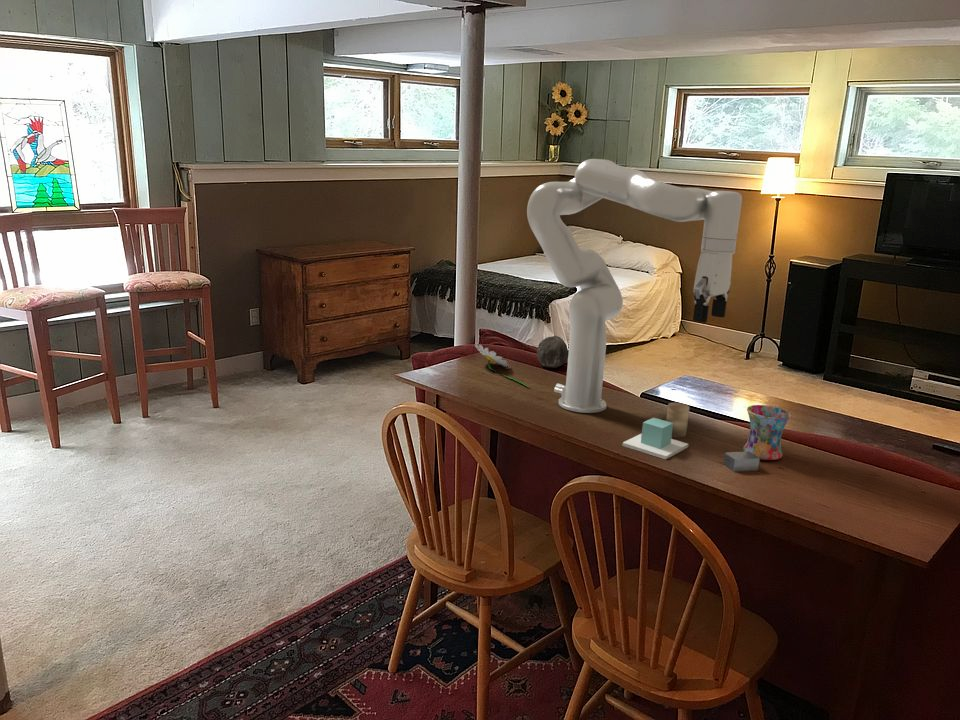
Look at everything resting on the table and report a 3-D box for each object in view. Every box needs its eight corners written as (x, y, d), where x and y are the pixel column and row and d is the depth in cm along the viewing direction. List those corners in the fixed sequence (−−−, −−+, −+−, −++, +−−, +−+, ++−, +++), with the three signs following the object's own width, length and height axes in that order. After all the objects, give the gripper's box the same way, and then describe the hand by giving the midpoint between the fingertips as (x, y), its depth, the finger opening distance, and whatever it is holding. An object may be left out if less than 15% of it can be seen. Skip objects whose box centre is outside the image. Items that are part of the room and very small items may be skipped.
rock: (542, 368, 232) (546, 336, 231) (530, 363, 243) (534, 332, 242) (572, 371, 235) (577, 339, 234) (559, 366, 246) (563, 335, 245)
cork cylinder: (661, 432, 184) (664, 405, 182) (670, 428, 188) (674, 401, 186) (680, 438, 181) (683, 410, 179) (689, 433, 185) (693, 406, 183)
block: (640, 442, 174) (642, 422, 173) (651, 437, 178) (653, 417, 177) (660, 449, 171) (662, 428, 170) (670, 443, 175) (673, 423, 174)
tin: (732, 472, 163) (734, 459, 162) (723, 465, 167) (724, 452, 166) (757, 471, 164) (759, 458, 164) (747, 464, 168) (749, 451, 167)
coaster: (622, 445, 174) (622, 442, 174) (645, 434, 182) (646, 431, 182) (665, 459, 168) (666, 456, 167) (688, 447, 176) (688, 443, 175)
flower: (520, 370, 210) (471, 335, 234) (509, 386, 210) (461, 349, 234) (550, 390, 218) (499, 353, 242) (539, 405, 218) (489, 367, 242)
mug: (768, 466, 167) (775, 420, 164) (732, 452, 174) (738, 408, 171) (798, 456, 174) (806, 412, 171) (762, 443, 181) (769, 400, 178)
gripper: (718, 242, 183) (709, 312, 187) (686, 246, 170) (677, 321, 174) (749, 245, 178) (739, 317, 182) (718, 250, 165) (708, 326, 170)
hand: (708, 319), depth 178 cm, fingers open, 9 cm apart
